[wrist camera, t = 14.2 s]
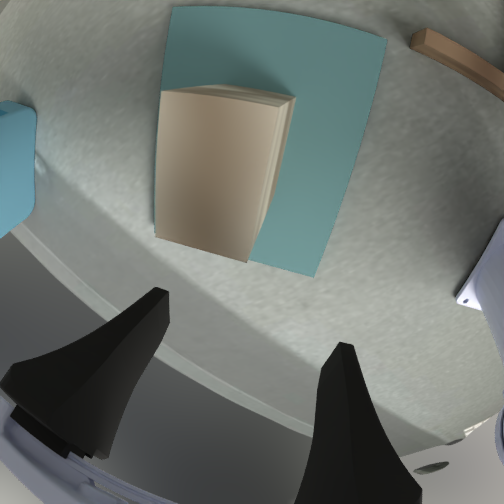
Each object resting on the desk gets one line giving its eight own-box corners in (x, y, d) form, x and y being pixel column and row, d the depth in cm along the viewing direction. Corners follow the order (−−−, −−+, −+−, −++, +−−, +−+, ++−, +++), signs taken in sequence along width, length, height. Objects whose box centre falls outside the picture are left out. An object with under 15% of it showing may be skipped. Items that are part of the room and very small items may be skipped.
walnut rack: (534, 6, 5) (554, 4, 2) (521, 115, 10) (543, 123, 8) (424, -65, 5) (436, -79, 3) (409, 48, 11) (424, 43, 9)
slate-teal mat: (384, 41, 11) (387, 39, 10) (314, 270, 20) (313, 277, 20) (178, 9, 12) (172, 6, 11) (159, 227, 21) (154, 233, 21)
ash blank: (296, 97, 14) (278, 107, 8) (274, 194, 17) (246, 262, 11) (224, 84, 14) (161, 90, 8) (211, 179, 17) (155, 237, 12)
